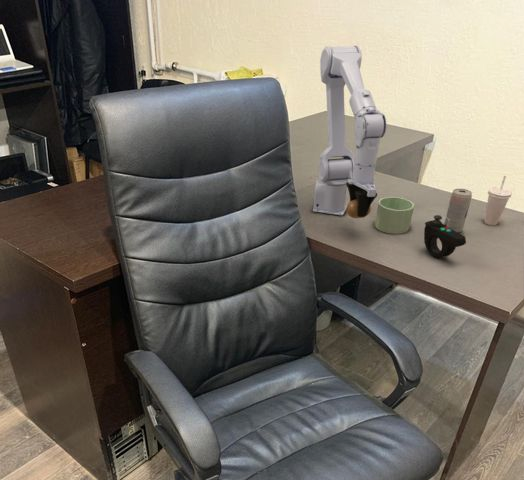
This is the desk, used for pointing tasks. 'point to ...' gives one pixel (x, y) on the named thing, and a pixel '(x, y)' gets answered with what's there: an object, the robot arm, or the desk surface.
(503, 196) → the smoothie
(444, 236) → the controller
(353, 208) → the bean
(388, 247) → the desk surface
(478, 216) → the desk surface
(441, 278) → the desk surface
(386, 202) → the cup
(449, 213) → the energy drink
